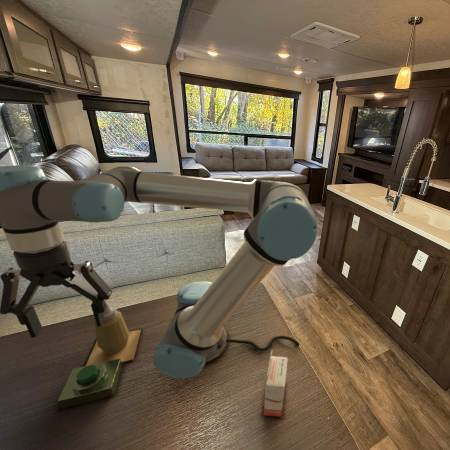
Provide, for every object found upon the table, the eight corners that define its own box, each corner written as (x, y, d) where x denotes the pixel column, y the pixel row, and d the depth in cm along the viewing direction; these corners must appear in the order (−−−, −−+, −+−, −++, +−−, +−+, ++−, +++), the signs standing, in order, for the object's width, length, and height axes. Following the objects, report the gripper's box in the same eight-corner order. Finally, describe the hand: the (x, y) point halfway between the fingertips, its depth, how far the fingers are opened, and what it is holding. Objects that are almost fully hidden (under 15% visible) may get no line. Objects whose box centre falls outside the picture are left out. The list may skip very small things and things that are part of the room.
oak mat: (140, 330, 85) (140, 329, 85) (133, 360, 75) (132, 359, 75) (98, 338, 81) (98, 337, 80) (84, 371, 70) (83, 370, 70)
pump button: (100, 368, 67) (98, 363, 66) (95, 382, 64) (93, 377, 63) (82, 372, 66) (80, 367, 65) (76, 387, 62) (73, 381, 61)
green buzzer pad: (122, 365, 73) (119, 353, 71) (113, 395, 65) (109, 382, 63) (76, 375, 69) (71, 363, 67) (60, 408, 61) (54, 396, 59)
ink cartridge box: (282, 417, 64) (286, 379, 58) (263, 415, 64) (265, 377, 58) (285, 385, 72) (288, 349, 66) (268, 383, 72) (270, 347, 66)
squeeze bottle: (116, 360, 74) (102, 314, 67) (93, 354, 75) (77, 308, 68) (137, 339, 81) (127, 295, 74) (116, 333, 82) (104, 290, 75)
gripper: (115, 232, 57) (132, 307, 65) (-29, 241, 48) (13, 325, 57) (105, 248, 50) (125, 328, 59) (-63, 261, 42) (-11, 353, 50)
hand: (70, 327), depth 58 cm, fingers open, 11 cm apart
